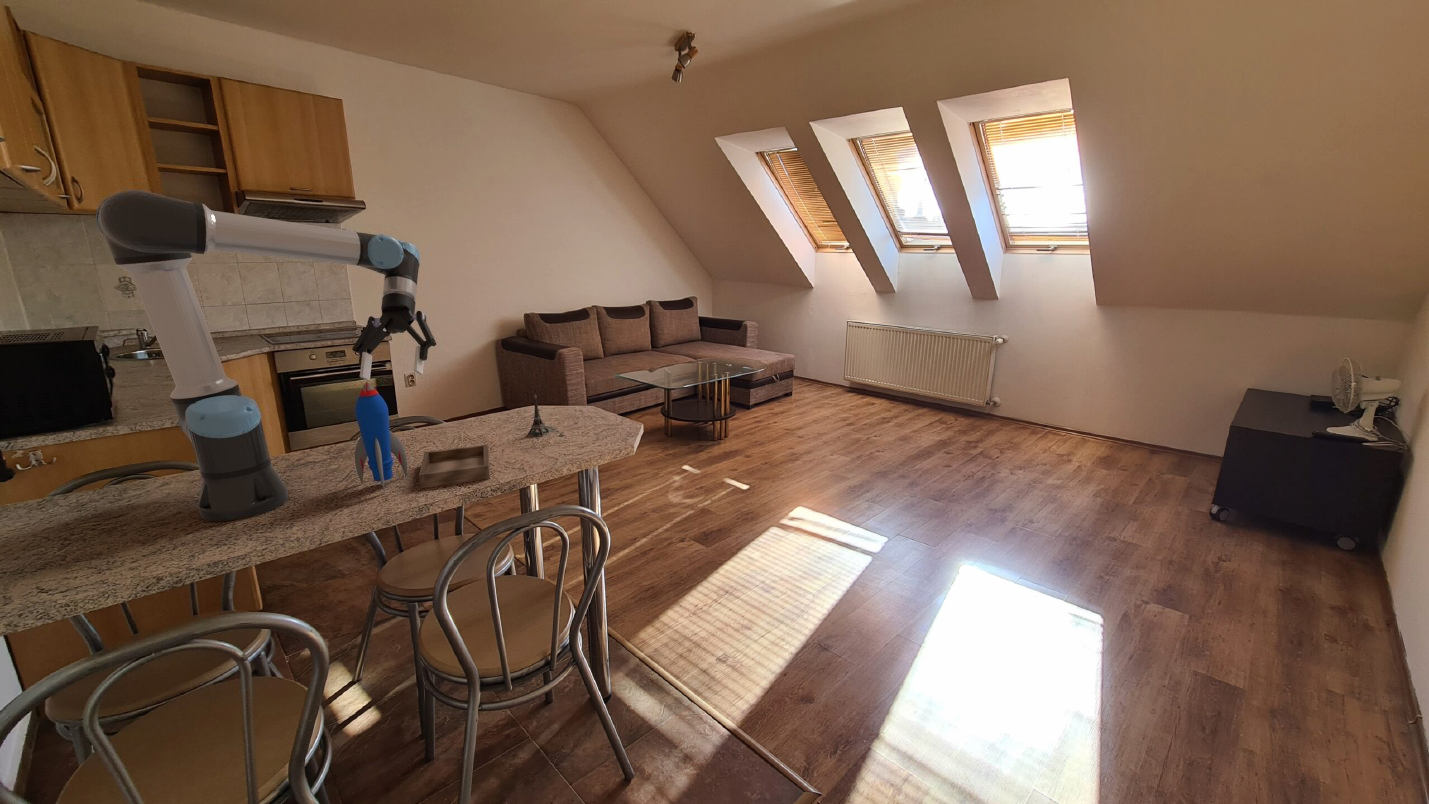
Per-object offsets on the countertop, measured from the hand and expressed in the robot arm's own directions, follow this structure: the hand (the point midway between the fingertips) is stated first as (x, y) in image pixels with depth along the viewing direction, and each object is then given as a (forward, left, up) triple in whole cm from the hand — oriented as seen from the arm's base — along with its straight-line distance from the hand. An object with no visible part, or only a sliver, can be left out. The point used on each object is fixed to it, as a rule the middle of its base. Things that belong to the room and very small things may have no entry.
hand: (391, 375), depth 142 cm
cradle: (+12, -10, -23) cm, 28 cm away
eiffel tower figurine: (+35, +12, -24) cm, 44 cm away
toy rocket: (-5, -12, -24) cm, 27 cm away
